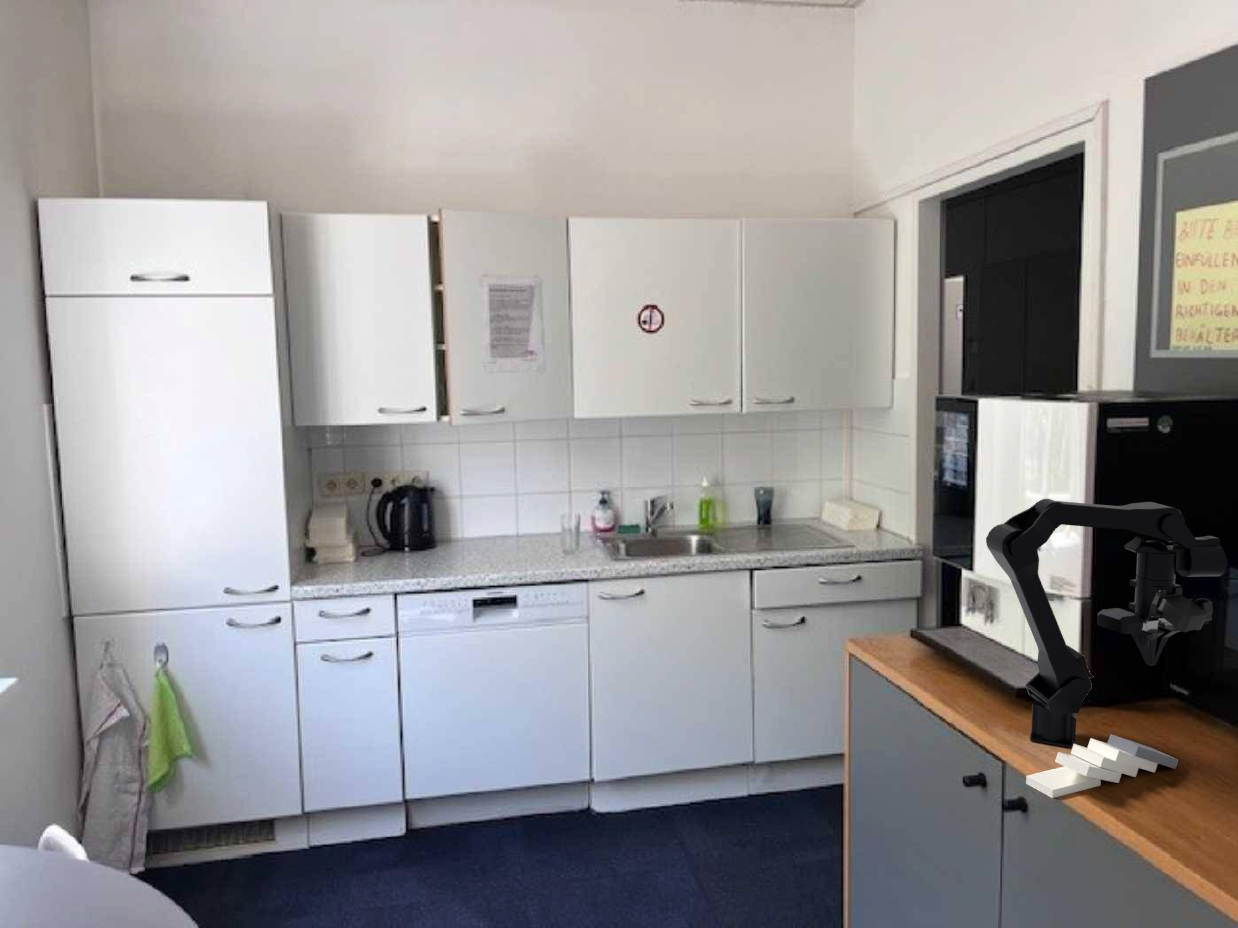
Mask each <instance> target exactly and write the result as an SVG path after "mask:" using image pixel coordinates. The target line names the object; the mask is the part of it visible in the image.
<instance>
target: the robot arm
mask: <svg viewBox="0 0 1238 928" xmlns="http://www.w3.org/2000/svg"><path fill="white" fill-rule="evenodd" d="M1181 511H1182V510H1180V509H1178V508H1175V507H1173V506H1168V505H1164V504H1161V503H1157V502H1152V501H1143V502H1134V503H1128V504H1125V505H1108V504H1107V505H1105V504H1095V503H1086V502H1084V503H1083V502H1073V501H1064V500H1063V501H1062V500H1053V499H1050V498H1042V499H1041V500H1040V499H1039V500H1038V501H1037V502H1035V503H1034V504H1033V505H1032V506H1030V508H1027V509H1025V510H1023V511H1021V512H1019V513H1017V514H1016V515H1013V516H1012V517H1010V518H1009V519H1008V520H1006V521H1005V522H1003V523H1000V524H997V525H995V526H993V527H992V528H991V529H990V530H989V532H988V533H987V536H986V537H985V542H986V546H987V549H988V550H989V552H990V554H991V555H992V557H993V558H994V560H995V561H996V563H997V565H999V567H1001V569H1002V570H1003V571H1004V572H1005V574H1006V575H1007V576H1008V579H1010V582H1011V584H1012V587H1013V589H1014V592H1015V594H1016V596H1017V600H1018V601H1019V604H1020V607H1021V609H1022V611H1023V614H1024V617H1025V619H1026V622H1027V624H1028V627H1029V629H1030V631H1031V633H1032V636H1033V639H1034V641H1035V644H1036V646H1037V649H1038V652H1037V653H1038V654H1037V667H1038V672H1037V673H1036V674H1035V675H1034V676H1032V678H1030V680H1029V681H1028V682H1027V683H1026V684H1025V688H1026V690H1027V693H1028V694H1027V695H1028V696H1030V697H1032V698H1033V699H1032V705H1031V729H1030V733H1029V734H1030V735H1029V741H1031V742H1035V743H1041V744H1045V745H1046V744H1048V745H1052V746H1058V747H1065V748H1071V749H1072V748H1073V742H1075V741H1076V735H1077V714H1078V713H1080V709H1081V708H1082V706H1083V704H1084V703H1083V701H1084V699H1085V697H1086V696H1087V695H1088V693H1089V691H1090V690H1091V689H1092V683H1091V680H1090V678H1093V677H1094V676H1093V675H1092V674H1091V673H1090V671H1089V670H1088V666H1087V661H1086V659H1085V656H1084V655H1082V654H1080V652H1079V651H1077V650H1076V649H1074V648H1072V647H1071V646H1069V645H1068V644H1067V643H1066V640H1065V638H1064V636H1063V634H1062V631H1061V628H1060V626H1059V624H1058V621H1057V619H1056V616H1055V613H1054V611H1053V608H1052V606H1051V604H1050V599H1049V598H1048V596H1047V593H1046V590H1045V588H1044V585H1043V583H1042V581H1041V578H1040V575H1039V566H1040V557H1039V552H1038V549H1040V548H1041V547H1042V546H1044V545H1045V544H1046V543H1047V542H1048V541H1049V539H1050V538H1051V536H1052V535H1053V534H1054V532H1055V531H1056V530H1057V528H1059V527H1060V526H1061V525H1063V526H1074V527H1075V526H1076V527H1086V528H1094V529H1096V528H1097V529H1108V530H1120V531H1127V532H1131V533H1134V534H1137V535H1141V536H1144V537H1148V538H1152V539H1155V540H1146V539H1145V538H1143V537H1139V536H1136V535H1135V537H1134V538H1133V539H1132V540H1131V541H1129V542H1127V543H1126V544H1124V549H1125V550H1128V551H1131V552H1134V553H1136V569H1135V570H1136V573H1135V579H1130V580H1129V586H1130V587H1134V589H1135V591H1134V601H1133V602H1128V609H1129V610H1132V611H1134V612H1132V611H1128V610H1125V609H1123V608H1119V607H1115V608H1107V609H1104V608H1103V609H1101V610H1100V611H1098V612H1097V620H1096V622H1097V624H1096V625H1097V626H1098V627H1102V628H1105V629H1108V630H1111V631H1113V632H1115V633H1119V634H1122V635H1130V634H1131V636H1132V638H1133V640H1134V641H1135V643H1136V645H1137V647H1138V649H1139V652H1140V654H1141V656H1142V658H1143V660H1144V663H1145V664H1146V665H1147V666H1150V667H1152V666H1156V663H1157V662H1158V660H1159V658H1160V656H1161V654H1162V651H1163V649H1164V647H1165V645H1166V643H1167V642H1168V640H1169V638H1170V637H1172V636H1173V635H1176V634H1177V633H1180V632H1183V633H1187V632H1189V631H1194V630H1195V631H1200V630H1201V629H1202V628H1203V625H1209V624H1210V621H1212V620H1213V616H1212V615H1213V612H1214V610H1213V609H1214V607H1213V601H1211V600H1210V599H1208V598H1207V597H1201V598H1196V599H1195V600H1194V599H1193V598H1186V597H1184V595H1183V588H1182V586H1181V584H1177V583H1176V573H1178V574H1179V575H1180V576H1181V577H1183V578H1184V577H1185V578H1186V577H1187V578H1189V577H1194V578H1195V577H1196V578H1197V577H1199V578H1200V577H1221V576H1223V575H1224V573H1226V570H1227V569H1228V561H1229V560H1228V559H1227V556H1226V553H1225V552H1226V551H1225V550H1224V549H1223V547H1222V546H1221V545H1220V543H1221V539H1220V538H1219V537H1216V536H1213V535H1205V536H1199V537H1196V536H1194V535H1193V533H1192V532H1191V530H1190V528H1188V526H1187V524H1186V520H1185V516H1184V514H1183V513H1182V512H1181ZM1160 540H1161V541H1160ZM1163 541H1164V542H1163ZM1165 542H1169V543H1172V544H1173V545H1166V544H1165Z"/></svg>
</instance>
